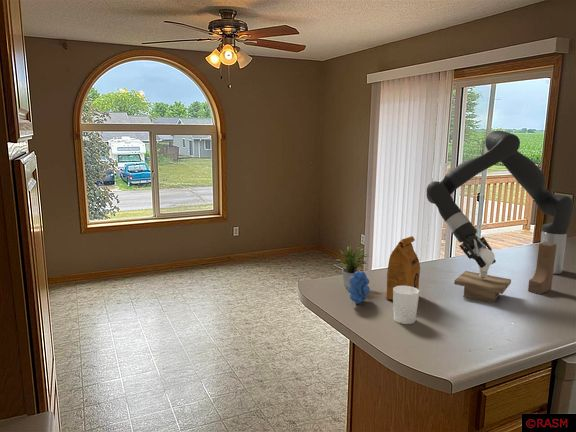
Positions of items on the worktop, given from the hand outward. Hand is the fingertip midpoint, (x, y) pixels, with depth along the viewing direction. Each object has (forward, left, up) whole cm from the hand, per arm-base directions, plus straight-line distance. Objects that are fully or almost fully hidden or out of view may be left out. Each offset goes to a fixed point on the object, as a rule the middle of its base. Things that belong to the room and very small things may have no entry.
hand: (488, 264), depth 155 cm
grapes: (+35, -33, -12) cm, 49 cm away
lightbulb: (0, -2, -6) cm, 6 cm away
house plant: (+22, -44, -12) cm, 50 cm away
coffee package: (+20, -24, -12) cm, 33 cm away
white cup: (+38, -16, -12) cm, 42 cm away
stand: (0, -2, -12) cm, 12 cm away
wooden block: (-19, +15, -12) cm, 27 cm away
